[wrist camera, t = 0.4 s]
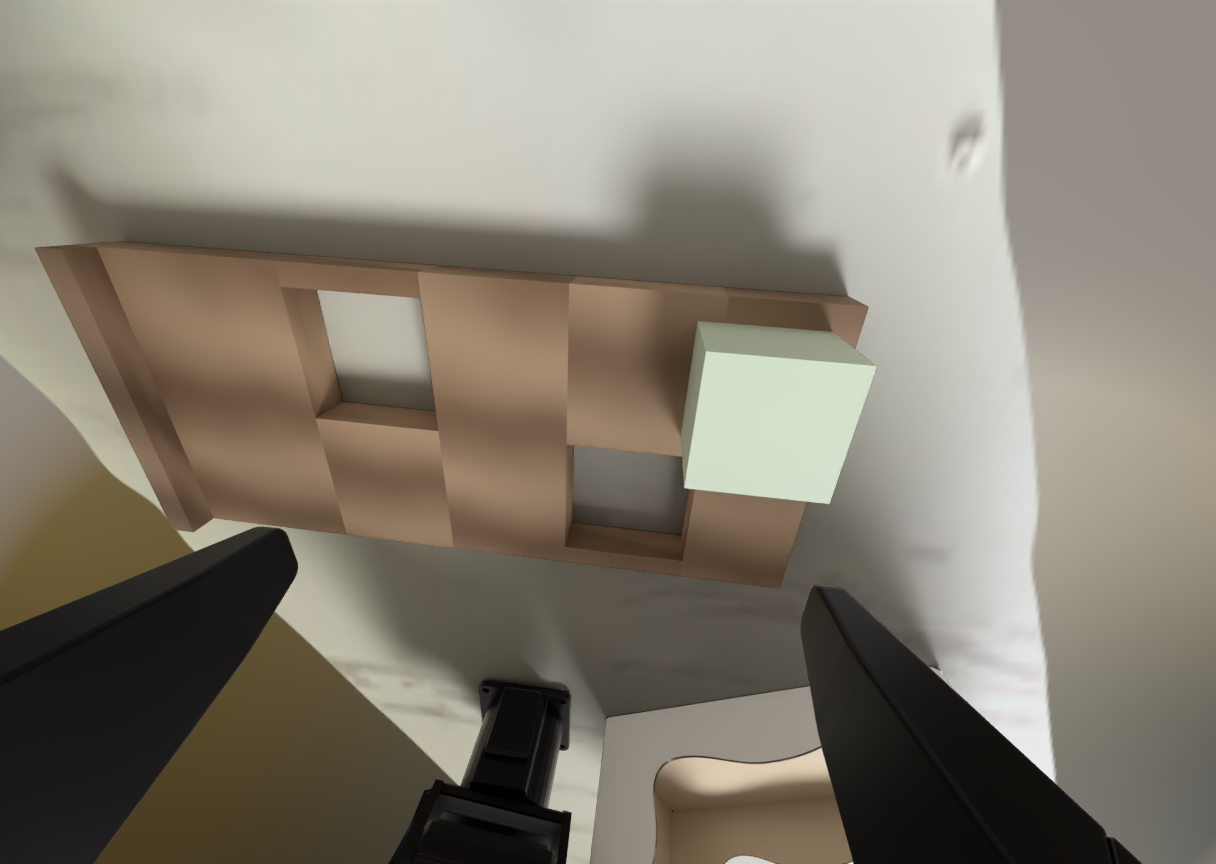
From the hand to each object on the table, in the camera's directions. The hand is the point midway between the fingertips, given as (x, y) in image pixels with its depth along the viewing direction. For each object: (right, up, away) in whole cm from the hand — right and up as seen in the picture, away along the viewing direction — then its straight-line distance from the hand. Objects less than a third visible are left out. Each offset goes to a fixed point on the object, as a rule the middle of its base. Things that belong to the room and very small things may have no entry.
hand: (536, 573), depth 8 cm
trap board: (-5, +3, +15) cm, 16 cm away
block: (+7, +4, +11) cm, 13 cm away
